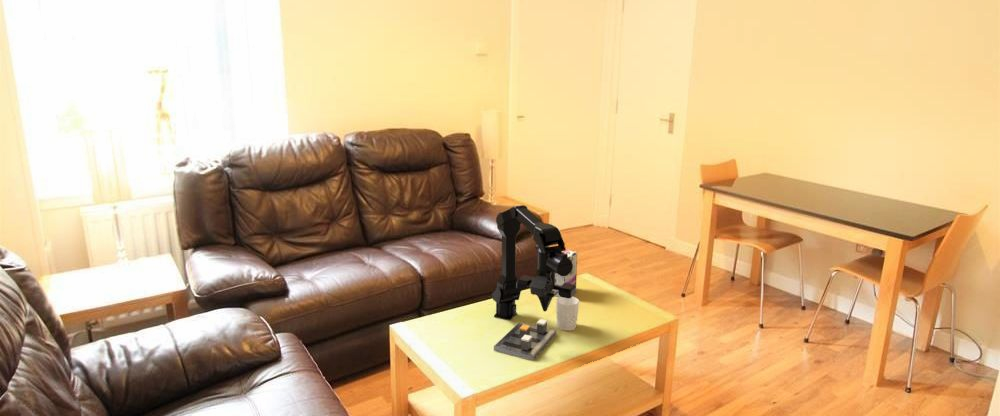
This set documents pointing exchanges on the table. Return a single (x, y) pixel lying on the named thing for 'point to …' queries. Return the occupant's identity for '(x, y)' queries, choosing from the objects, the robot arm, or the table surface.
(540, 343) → the panel
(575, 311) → the white cup
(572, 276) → the candy bar box
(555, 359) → the table surface
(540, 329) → the block
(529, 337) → the block
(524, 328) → the block
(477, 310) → the table surface
